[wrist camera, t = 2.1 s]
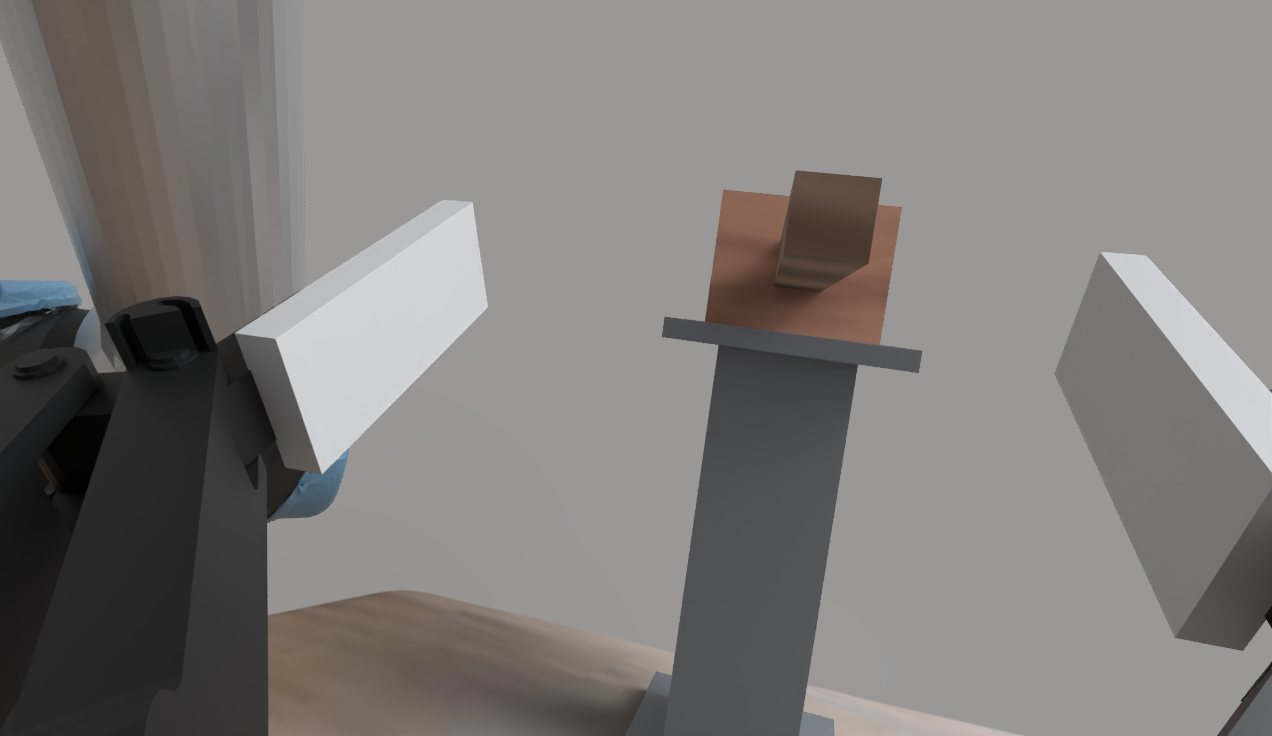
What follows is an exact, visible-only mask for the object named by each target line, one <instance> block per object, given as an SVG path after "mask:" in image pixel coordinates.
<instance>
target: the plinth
mask: <svg viewBox="0 0 1272 736" xmlns="http://www.w3.org/2000/svg"><path fill="white" fill-rule="evenodd" d="M662 337H666V338H674V339H681V340H688V341H695V342H702V343H709V344H716V345H719V347H718V355H717V361H716V368H715V375H714V383H713V390H712V396H711V403H710V410H709V418H708V425H707V432H706V439H705V446H704V453H703V460H702V467H701V475H700V481H699V488H698V495H697V503H696V510H695V517H694V524H693V532H692V538H691V545H690V552H689V559H688V566H687V573H686V580H685V587H684V595H683V602H682V609H681V616H680V623H679V630H678V637H677V644H676V651H675V658H674V665H673V672H672V676H671V675H667V674H663V673H660V672H656V673H655V675H654V677H653V679H652V681H651V683H650V685H649V687H648V689H647V691H646V693H645V695H644V697H643V699H642V701H641V703H640V705H639V707H638V709H637V711H636V713H635V715H634V717H633V719H632V722H631V724H630V726H629V728H628V730H627V732H626V734H625V736H834V720H833V719H829V718H826V717H822V716H818V715H815V714H811V713H807V712H804V711H803V707H804V700H805V694H806V688H807V681H808V675H809V669H810V663H811V656H812V650H813V644H814V638H815V631H816V625H817V619H818V612H819V606H820V600H821V593H822V587H823V581H824V575H825V568H826V562H827V556H828V549H829V543H830V537H831V531H832V524H833V517H834V512H835V505H836V499H837V493H838V486H839V480H840V474H841V467H842V461H843V455H844V448H845V443H846V436H847V429H848V423H849V417H850V411H851V405H852V399H853V392H854V386H855V380H856V373H857V367H858V364H859V365H866V366H874V367H880V368H888V369H894V370H902V371H909V372H916V373H919V368H920V362H921V356H922V351H919V350H913V349H906V348H900V347H893V346H885V345H875V344H868V343H860V342H852V341H845V340H837V339H830V338H822V337H815V336H807V335H799V334H792V333H784V332H777V331H769V330H762V329H754V328H746V327H739V326H731V325H724V324H716V323H709V322H703V321H695V320H686V319H678V318H670V317H665V318H664V326H663V333H662Z"/></svg>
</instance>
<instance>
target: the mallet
mask: <svg viewBox="0 0 1272 736" xmlns="http://www.w3.org/2000/svg"><path fill="white" fill-rule="evenodd" d="M881 183H882V178H872V177H861V176H850V175H839V174H828V173H817V172H806V171H796V173H795V177H794V181H793V186H792V190H791V195H790V196H783V195H772V194H762V193H752V192H741V191H731V190H723V196H722V203H721V210H720V218H719V225H718V232H717V239H716V246H715V253H714V261H713V268H712V276H711V282H710V289H709V297H708V304H707V311H706V319H705V322H709V323H716V324H724V325H731V326H739V327H746V328H754V329H762V330H769V331H777V332H784V333H792V334H799V335H807V336H815V337H822V338H830V339H837V340H845V341H852V342H860V343H868V344H875V345H880V339H881V333H882V327H883V321H884V314H885V308H886V302H887V296H888V290H889V283H890V277H891V271H892V265H893V258H894V252H895V246H896V240H897V234H898V228H899V221H900V215H901V209H902V207H894V206H885V205H878V202H879V195H880V189H881Z"/></svg>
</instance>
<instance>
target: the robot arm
mask: <svg viewBox="0 0 1272 736" xmlns="http://www.w3.org/2000/svg"><path fill="white" fill-rule="evenodd" d="M0 41H1V44H2V47H3V50H4V52H5V55H6V58H7V61H8V64H9V67H10V69H11V72H12V75H13V78H14V81H15V84H16V86H17V89H18V92H19V95H20V97H21V100H22V103H23V106H24V109H25V112H26V114H27V117H28V120H29V123H30V125H31V128H32V131H33V134H34V137H35V140H36V142H37V145H38V148H39V151H40V153H41V157H42V160H43V162H44V165H45V168H46V171H47V174H48V176H49V179H50V182H51V185H52V187H53V191H54V193H55V196H56V199H57V202H58V205H59V207H60V210H61V213H62V216H63V219H64V222H65V224H66V227H67V230H68V233H69V236H70V238H71V241H72V244H73V247H74V250H75V253H76V255H77V258H78V261H79V264H80V266H81V269H82V272H83V275H84V278H85V280H86V284H87V286H88V289H89V292H90V295H91V297H92V300H93V303H94V306H93V307H92V308H91V310H84V309H79V308H78V306H80V305H81V301H82V299H81V297H80V296H79V295H78V293H77V289H76V287H75V286H74V285H73V284H72V283H70V282H66V281H15V280H14V281H12V280H11V281H10V280H8V281H7V280H5V281H4V280H0V736H268V616H267V522H270V521H274V520H276V519H281V518H307V517H312V516H315V515H318V514H320V513H322V512H323V511H325V510H326V509H327V508H328V507H329V506H330V505H331V503H332V502H333V501H334V499H335V497H336V495H337V492H338V490H339V487H340V484H341V481H342V478H343V474H344V470H345V466H346V462H347V457H348V450H349V447H350V446H351V445H352V444H353V443H354V442H355V441H356V440H357V439H358V438H359V437H360V436H361V435H362V434H363V433H364V432H365V431H366V429H368V428H369V426H371V425H372V423H373V422H375V420H376V419H377V418H378V417H379V416H380V415H381V414H382V413H383V412H384V411H385V410H386V409H387V408H388V407H389V406H390V405H391V404H392V403H393V402H394V401H395V400H396V399H397V398H398V397H399V396H400V395H401V394H402V393H403V392H404V391H405V390H406V389H407V388H408V387H409V386H410V385H411V384H412V383H413V382H414V381H415V380H416V379H417V378H418V377H419V376H420V375H421V374H422V373H423V372H424V371H425V370H426V369H427V368H428V367H429V366H430V365H431V364H432V363H433V362H434V361H435V360H436V359H437V358H438V357H439V356H440V355H441V354H442V353H443V352H444V351H445V350H446V349H447V348H448V347H449V346H450V345H451V344H452V343H453V342H454V341H455V340H456V339H457V338H458V337H459V336H460V335H461V334H462V333H463V332H464V331H465V330H466V329H467V328H468V327H469V326H470V325H471V323H473V322H474V320H475V319H477V317H478V316H479V315H481V314H482V313H483V311H484V310H485V309H486V308H487V307H488V305H487V298H486V292H485V285H484V278H483V271H482V264H481V257H480V251H479V244H478V238H477V230H476V223H475V217H474V210H473V204H472V202H463V201H451V200H442V201H441V202H439V203H437V204H436V205H434V206H433V207H431V208H429V209H428V210H426V211H425V212H423V213H422V214H420V215H419V216H417V217H415V218H414V219H412V220H411V221H409V222H408V223H406V224H405V225H403V226H401V227H400V228H398V229H397V230H395V231H394V232H392V233H390V234H389V235H387V236H386V237H384V238H383V239H381V240H379V241H378V242H376V243H375V244H373V245H372V246H370V247H369V248H367V249H365V250H364V251H362V252H361V253H359V254H358V255H356V256H354V257H353V258H352V259H350V260H348V261H347V262H345V263H344V264H342V265H340V266H339V267H337V268H336V269H334V270H332V271H331V272H329V273H328V274H326V275H325V276H323V277H322V278H320V279H318V280H317V281H315V282H314V283H312V284H311V285H309V286H308V287H306V288H305V199H304V198H305V195H304V194H305V193H304V192H305V190H304V97H303V0H0ZM1055 376H1056V378H1057V380H1058V383H1059V385H1060V387H1061V389H1062V391H1063V393H1064V396H1065V398H1066V400H1067V402H1068V405H1069V407H1070V409H1071V411H1072V413H1073V416H1074V418H1075V420H1076V422H1077V424H1078V426H1079V429H1080V431H1081V433H1082V435H1083V437H1084V440H1085V442H1086V444H1087V446H1088V448H1089V450H1090V453H1091V455H1092V457H1093V459H1094V462H1095V464H1096V466H1097V468H1098V470H1099V472H1100V475H1101V477H1102V479H1103V481H1104V483H1105V486H1106V488H1107V490H1108V492H1109V494H1110V496H1111V499H1112V501H1113V503H1114V505H1115V508H1116V510H1117V512H1118V514H1119V516H1120V519H1121V521H1122V523H1123V525H1124V527H1125V529H1126V531H1127V534H1128V536H1129V538H1130V540H1131V543H1132V545H1133V547H1134V549H1135V551H1136V553H1137V556H1138V558H1139V560H1140V562H1141V565H1142V567H1143V569H1144V571H1145V573H1146V575H1147V578H1148V580H1149V582H1150V584H1151V586H1152V589H1153V591H1154V593H1155V595H1156V597H1157V600H1158V602H1159V604H1160V606H1161V608H1162V611H1163V613H1164V615H1165V617H1166V619H1167V621H1168V624H1169V626H1170V628H1171V630H1172V632H1173V635H1174V636H1175V638H1179V639H1184V640H1189V641H1194V642H1199V643H1205V644H1210V645H1215V646H1220V647H1225V648H1231V649H1236V650H1242V651H1243V650H1244V649H1245V647H1246V646H1247V645H1248V643H1249V642H1250V641H1251V639H1252V638H1253V637H1254V635H1255V634H1256V632H1257V631H1258V630H1259V628H1260V627H1261V626H1262V624H1263V623H1264V622H1265V620H1267V621H1268V623H1269V625H1270V626H1271V628H1272V390H1269V389H1267V388H1266V386H1265V385H1264V384H1263V383H1262V382H1261V381H1260V380H1259V379H1258V378H1257V377H1256V375H1255V374H1254V373H1253V372H1252V371H1251V370H1250V369H1249V368H1248V367H1247V366H1246V365H1245V363H1244V362H1243V361H1242V360H1241V359H1240V358H1239V357H1238V356H1237V355H1236V354H1235V353H1234V352H1233V350H1232V349H1231V348H1230V347H1229V346H1228V345H1227V344H1226V343H1225V342H1224V340H1223V339H1222V338H1221V337H1220V336H1219V335H1218V334H1217V333H1216V332H1215V331H1214V329H1213V328H1212V327H1211V326H1210V325H1209V324H1208V323H1207V322H1206V321H1205V320H1204V319H1203V318H1202V317H1201V315H1200V314H1199V313H1198V312H1197V311H1196V310H1195V309H1194V308H1193V307H1192V305H1191V304H1190V303H1189V302H1188V301H1187V300H1186V299H1185V298H1184V297H1183V296H1182V294H1181V293H1180V292H1179V291H1178V290H1177V289H1176V288H1175V287H1174V286H1173V285H1172V283H1170V281H1169V280H1168V279H1167V278H1166V277H1165V276H1164V275H1163V274H1162V273H1161V272H1160V270H1159V269H1158V268H1157V267H1156V266H1155V265H1154V264H1153V263H1152V262H1151V261H1150V259H1149V258H1148V257H1147V256H1146V255H1145V256H1144V255H1132V254H1120V253H1108V252H1100V254H1099V257H1098V259H1097V262H1096V264H1095V267H1094V270H1093V273H1092V275H1091V278H1090V280H1089V283H1088V286H1087V289H1086V291H1085V294H1084V296H1083V299H1082V302H1081V304H1080V307H1079V310H1078V312H1077V315H1076V318H1075V320H1074V323H1073V326H1072V328H1071V331H1070V334H1069V336H1068V339H1067V342H1066V344H1065V347H1064V350H1063V352H1062V355H1061V358H1060V360H1059V363H1058V366H1057V368H1056V371H1055ZM1241 701H1242V703H1241V704H1240V705H1239V707H1238V708H1237V709H1236V711H1235V712H1234V713H1233V715H1232V716H1231V717H1230V719H1229V720H1228V722H1227V723H1226V724H1225V726H1224V727H1223V728H1222V730H1221V731H1220V732H1219V734H1218V735H1217V736H1272V662H1271V664H1270V665H1269V666H1268V667H1267V668H1266V670H1265V671H1264V672H1263V673H1262V675H1261V676H1260V677H1259V679H1258V680H1257V681H1256V682H1255V684H1254V685H1253V686H1252V687H1251V689H1250V690H1249V691H1248V692H1247V694H1246V695H1245V696H1244V698H1243V699H1242V700H1241Z"/></svg>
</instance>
